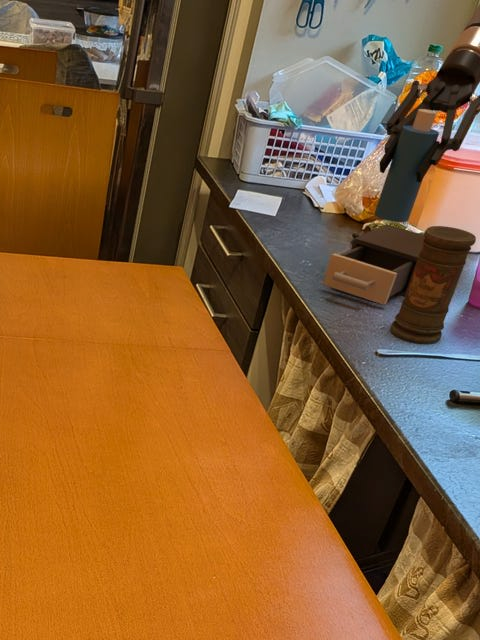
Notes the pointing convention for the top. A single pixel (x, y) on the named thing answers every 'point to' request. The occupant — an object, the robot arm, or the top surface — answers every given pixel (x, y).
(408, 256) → the cabinet
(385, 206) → the bottle
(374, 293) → the drawer
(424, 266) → the container
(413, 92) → the robot arm
